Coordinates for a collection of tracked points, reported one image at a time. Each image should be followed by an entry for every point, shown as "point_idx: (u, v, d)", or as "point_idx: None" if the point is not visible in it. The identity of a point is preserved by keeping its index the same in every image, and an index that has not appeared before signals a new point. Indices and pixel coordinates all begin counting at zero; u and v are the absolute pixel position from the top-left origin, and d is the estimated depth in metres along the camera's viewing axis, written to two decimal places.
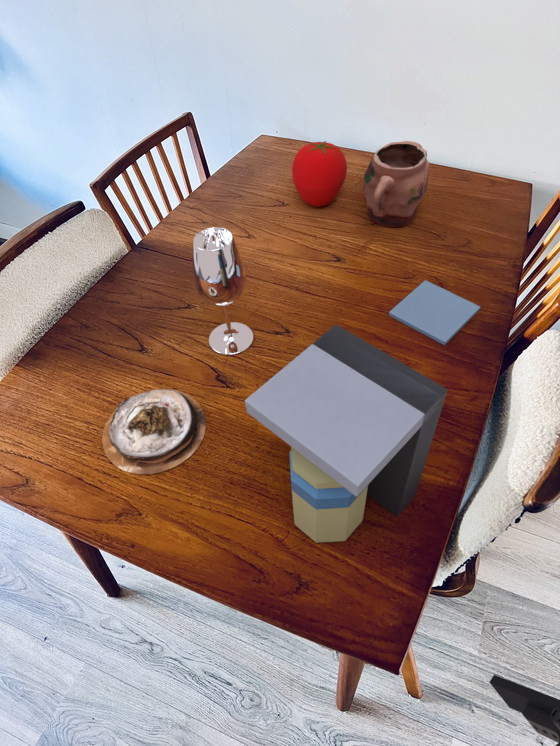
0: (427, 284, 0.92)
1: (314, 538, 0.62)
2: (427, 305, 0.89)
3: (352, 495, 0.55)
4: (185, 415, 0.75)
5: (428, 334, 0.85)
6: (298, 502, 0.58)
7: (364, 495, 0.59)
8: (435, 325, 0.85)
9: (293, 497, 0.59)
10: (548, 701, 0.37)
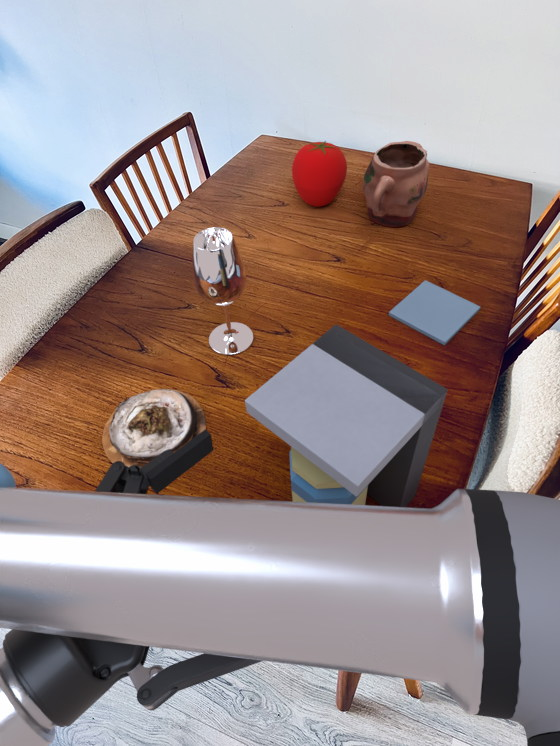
0: (427, 284, 0.92)
1: None
2: (427, 305, 0.89)
3: (352, 495, 0.55)
4: (185, 415, 0.75)
5: (428, 334, 0.85)
6: None
7: (364, 495, 0.59)
8: (435, 325, 0.85)
9: (293, 497, 0.59)
10: None
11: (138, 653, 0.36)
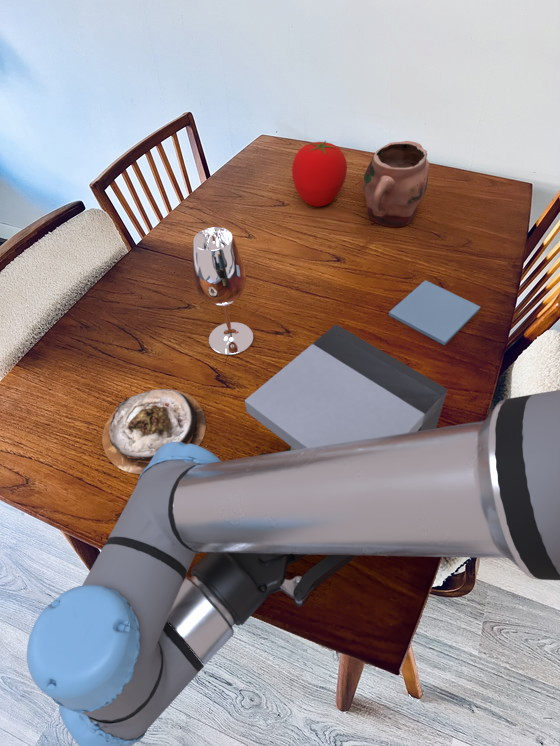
0: (427, 284, 0.92)
1: None
2: (427, 305, 0.89)
3: None
4: (185, 415, 0.75)
5: (428, 334, 0.85)
6: None
7: None
8: (435, 325, 0.85)
9: None
10: None
11: (282, 572, 0.53)
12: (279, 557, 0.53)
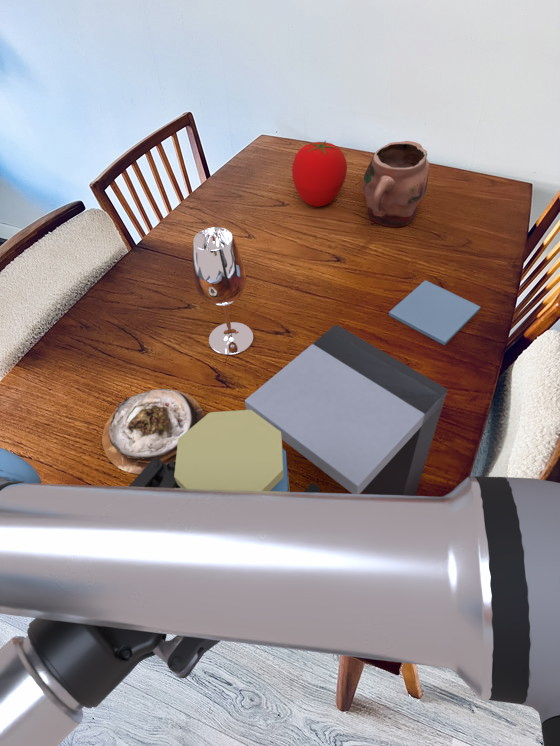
0: (427, 284, 0.92)
1: None
2: (427, 305, 0.89)
3: None
4: (185, 415, 0.75)
5: (428, 334, 0.85)
6: None
7: None
8: (435, 325, 0.85)
9: None
10: None
11: None
12: None
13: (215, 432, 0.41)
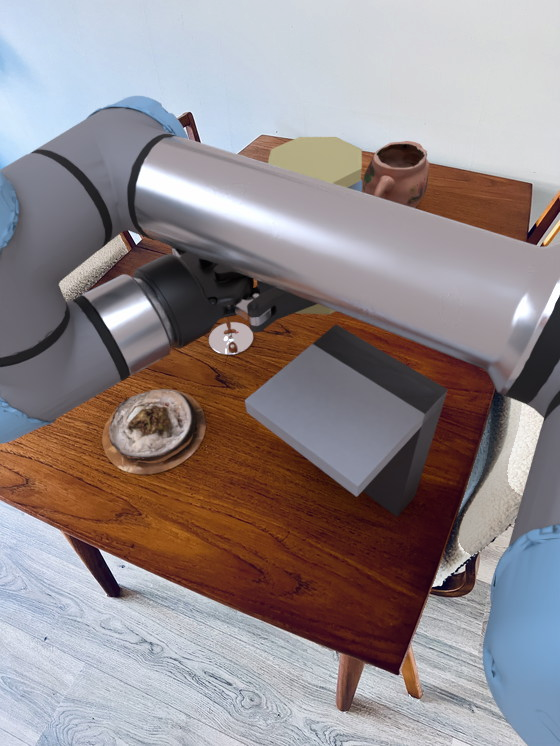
0: None
1: None
2: None
3: None
4: (185, 415, 0.75)
5: None
6: None
7: None
8: None
9: None
10: None
11: (239, 290, 0.43)
12: (239, 276, 0.44)
13: (303, 147, 0.46)
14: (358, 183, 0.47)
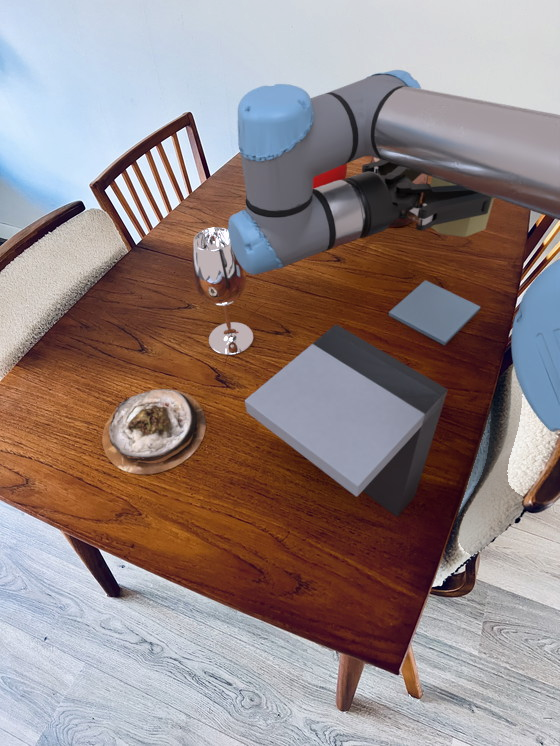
0: (427, 284, 0.92)
1: (438, 228, 0.72)
2: (427, 305, 0.89)
3: None
4: (185, 415, 0.75)
5: (428, 334, 0.85)
6: None
7: None
8: (435, 325, 0.85)
9: None
10: None
11: (412, 201, 0.63)
12: (413, 192, 0.64)
13: None
14: None
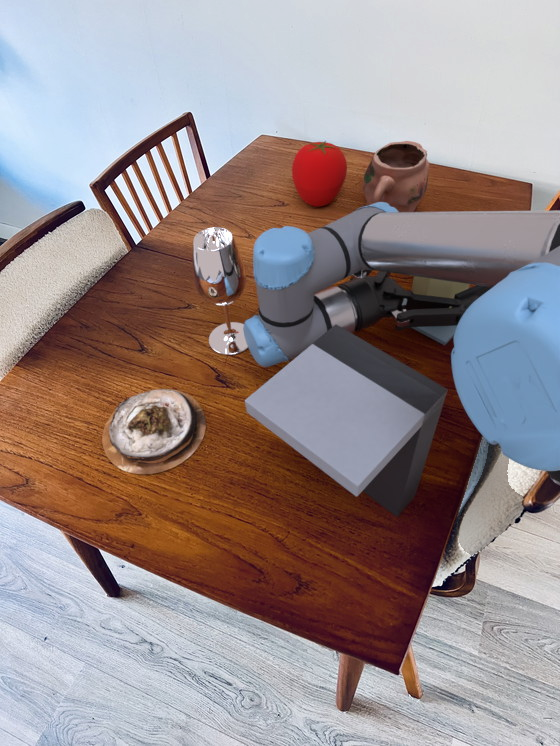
0: None
1: None
2: None
3: None
4: (185, 415, 0.75)
5: (428, 334, 0.85)
6: (418, 277, 0.81)
7: (467, 284, 0.80)
8: None
9: None
10: None
11: (396, 304, 0.76)
12: (396, 297, 0.76)
13: None
14: None
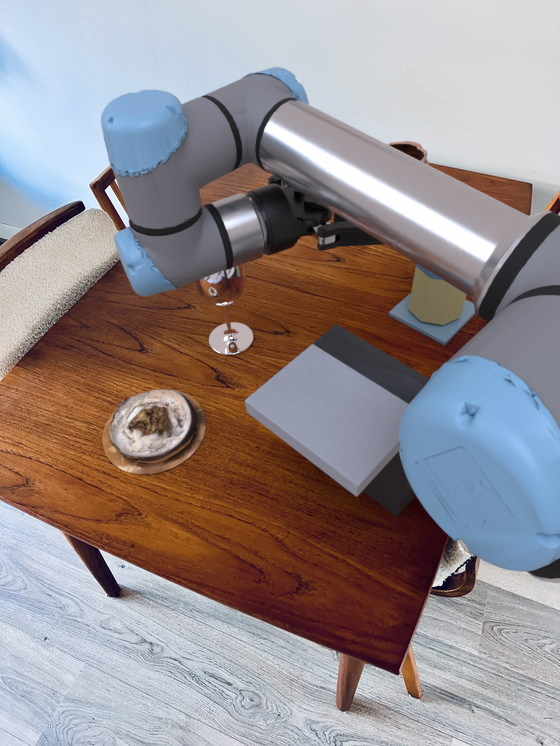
0: None
1: (420, 316, 0.85)
2: None
3: None
4: (185, 415, 0.75)
5: (428, 334, 0.85)
6: (418, 277, 0.81)
7: None
8: (435, 325, 0.85)
9: (415, 274, 0.82)
10: None
11: (319, 217, 0.58)
12: (320, 208, 0.59)
13: None
14: None
